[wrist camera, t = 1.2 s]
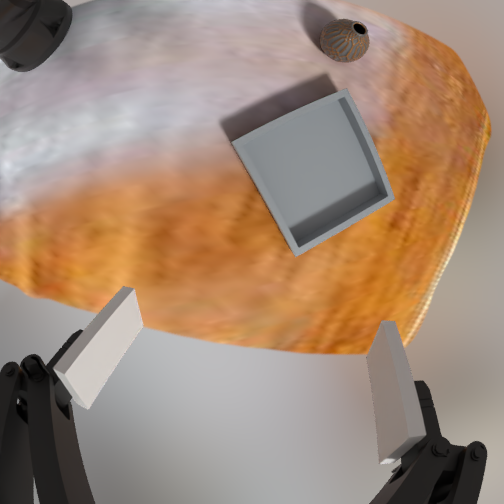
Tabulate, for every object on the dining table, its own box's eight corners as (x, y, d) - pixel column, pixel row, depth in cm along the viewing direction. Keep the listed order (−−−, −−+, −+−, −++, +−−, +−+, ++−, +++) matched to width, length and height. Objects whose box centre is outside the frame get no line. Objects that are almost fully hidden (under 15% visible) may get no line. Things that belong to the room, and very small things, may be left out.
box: (230, 143, 36) (231, 141, 33) (337, 92, 35) (346, 88, 31) (290, 249, 42) (295, 257, 39) (383, 195, 41) (395, 199, 38)
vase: (307, 33, 31) (326, 9, 23) (344, 28, 31) (368, 7, 23) (325, 70, 33) (349, 52, 25) (361, 63, 33) (390, 48, 25)
